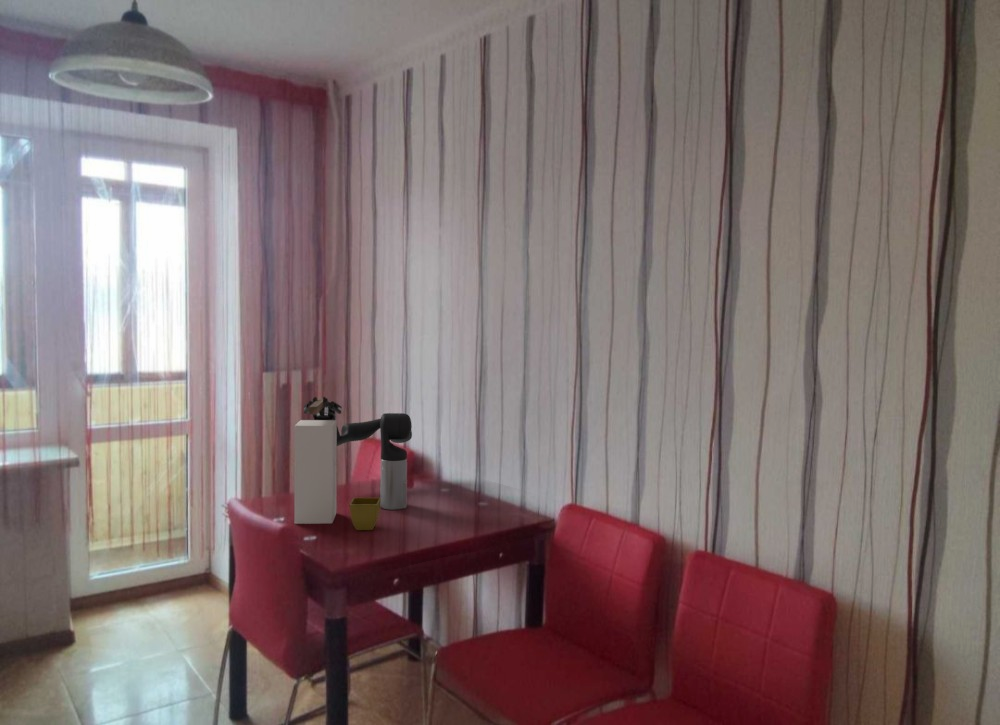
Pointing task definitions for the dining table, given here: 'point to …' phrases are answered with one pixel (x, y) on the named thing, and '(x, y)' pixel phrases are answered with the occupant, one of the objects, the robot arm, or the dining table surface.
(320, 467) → the off-white column
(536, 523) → the dining table surface
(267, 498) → the dining table surface
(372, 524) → the flower pot
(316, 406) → the walnut bar
